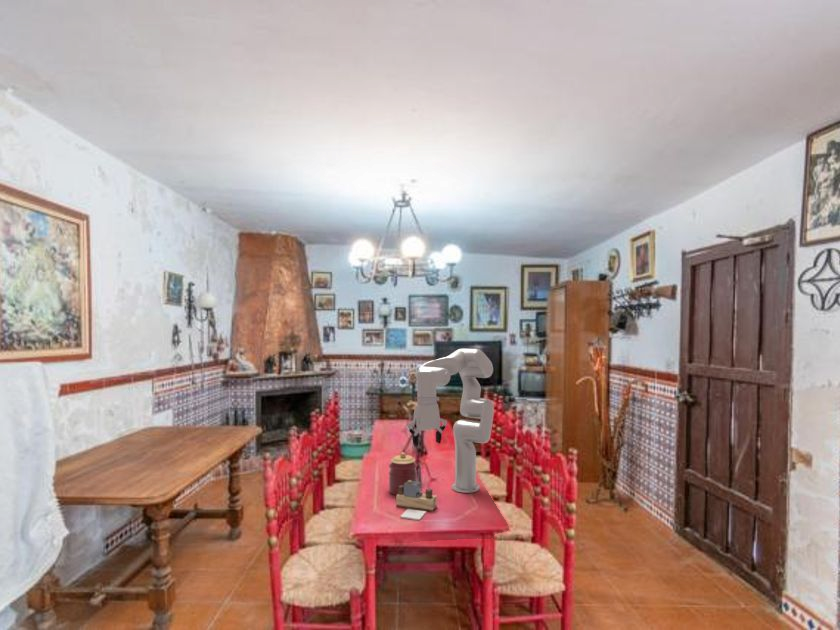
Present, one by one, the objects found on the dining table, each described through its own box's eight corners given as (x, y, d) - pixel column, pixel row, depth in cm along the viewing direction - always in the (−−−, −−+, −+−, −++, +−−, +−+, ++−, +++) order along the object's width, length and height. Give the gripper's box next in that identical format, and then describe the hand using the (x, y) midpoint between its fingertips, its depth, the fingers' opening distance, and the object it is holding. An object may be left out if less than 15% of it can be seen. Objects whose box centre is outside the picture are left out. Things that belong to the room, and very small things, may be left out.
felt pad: (407, 510, 191) (407, 508, 191) (426, 512, 188) (426, 511, 188) (400, 517, 183) (400, 516, 183) (419, 520, 180) (419, 519, 180)
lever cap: (408, 492, 199) (408, 478, 199) (420, 493, 197) (420, 479, 197) (403, 496, 194) (403, 482, 194) (416, 497, 192) (416, 483, 192)
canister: (413, 497, 205) (413, 457, 205) (385, 495, 207) (385, 455, 208) (419, 487, 217) (419, 449, 218) (392, 485, 220) (393, 447, 220)
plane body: (401, 501, 200) (401, 483, 200) (436, 506, 194) (436, 488, 195) (396, 506, 195) (396, 488, 195) (432, 511, 189) (432, 492, 189)
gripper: (442, 397, 192) (442, 439, 192) (403, 400, 185) (403, 444, 185) (450, 400, 185) (450, 443, 185) (409, 404, 178) (410, 448, 178)
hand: (427, 443), depth 185 cm, fingers open, 9 cm apart
